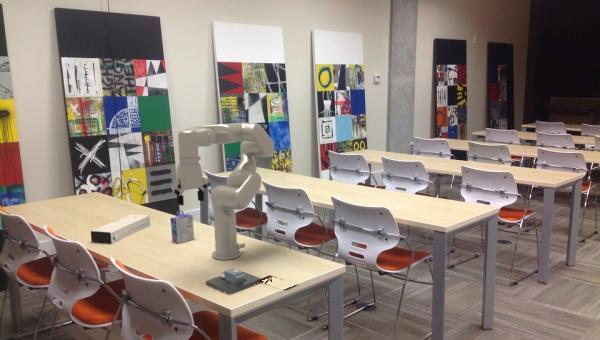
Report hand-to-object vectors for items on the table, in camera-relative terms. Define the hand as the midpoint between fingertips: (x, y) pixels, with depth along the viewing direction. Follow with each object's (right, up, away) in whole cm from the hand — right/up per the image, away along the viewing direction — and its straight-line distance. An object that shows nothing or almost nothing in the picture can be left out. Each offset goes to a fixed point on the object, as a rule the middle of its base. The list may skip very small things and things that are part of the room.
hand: (191, 202), depth 209 cm
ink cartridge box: (-13, -22, +45) cm, 52 cm away
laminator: (-47, -20, +58) cm, 77 cm away
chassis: (+19, -30, -11) cm, 37 cm away
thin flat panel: (+35, -31, -10) cm, 48 cm away
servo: (+19, -30, -10) cm, 37 cm away
